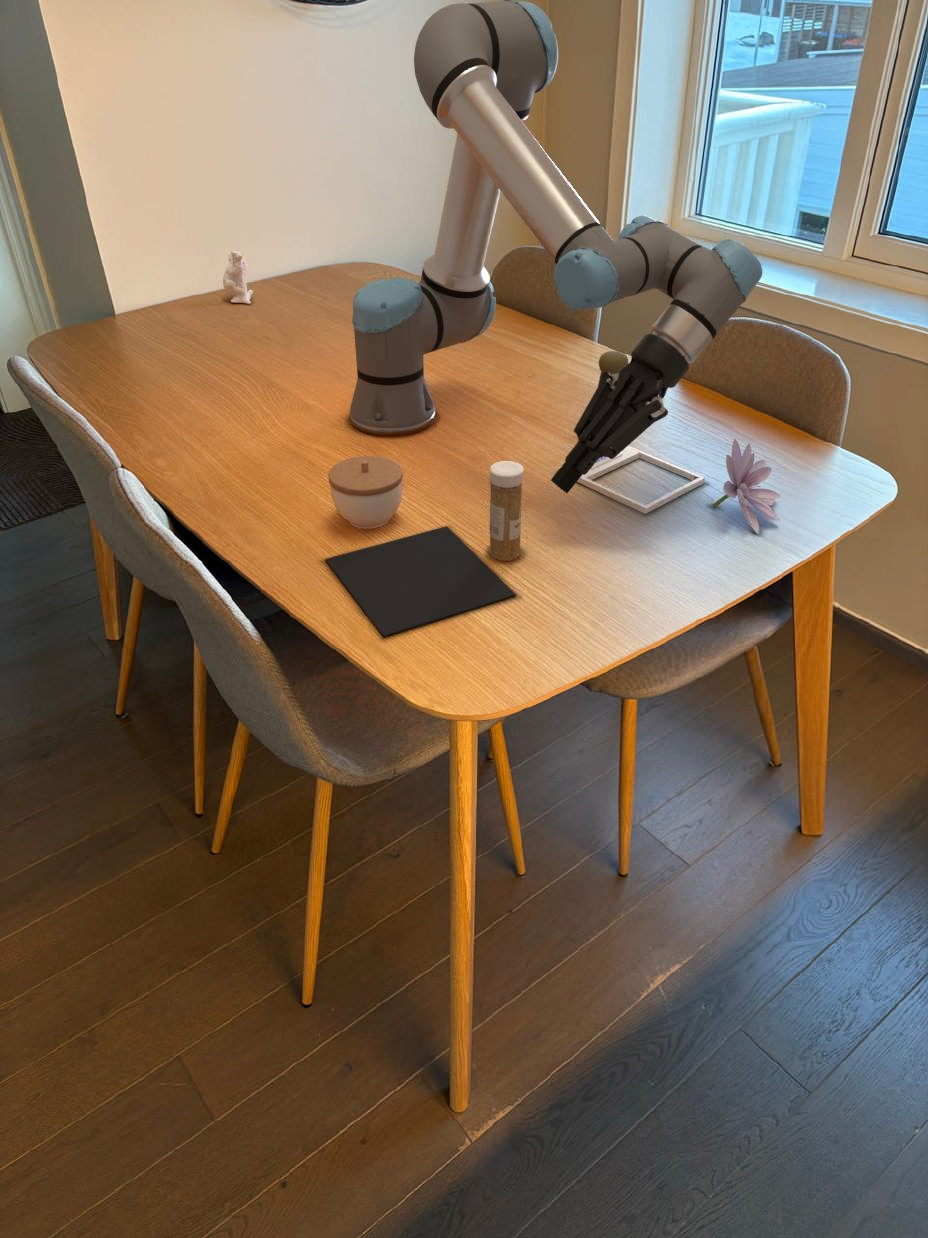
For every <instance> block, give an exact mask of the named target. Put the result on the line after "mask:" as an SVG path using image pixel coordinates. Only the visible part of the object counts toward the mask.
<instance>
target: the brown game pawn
mask: <svg viewBox="0 0 928 1238" xmlns="http://www.w3.org/2000/svg"><path fill="white" fill-rule="evenodd" d="M629 363H630V361H629V358H628V356H627V354H625V353H624V352H621V351H618V350H609V351H606V352H603V353H601V356H600V357H599V359H598V367H599V370H600V375H599V379H598V384H597V387H598V386H599V382H600V378H601V375H602V373H603V372H605V371H607V372H608V373H609V374H610V375H612V374H616V373H619V372H620V370H621V369H622V368H624V367H625V366H627V365H628V364H629Z"/></svg>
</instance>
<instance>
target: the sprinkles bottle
mask: <svg viewBox="0 0 928 1238" xmlns="http://www.w3.org/2000/svg"><path fill="white" fill-rule="evenodd" d="M524 477H525V469H524V467H523V465H522V464H520V463H518V462H516V461H511V460H501V461H498V462H495V463H493V464H492V465H490V467H489V479H488V480H489V484H490V493H489V494H490V496H489V497H490V499H489V548H488V554H489V555H490V557H491V558H493V559H495V560H497V561H502V562H503V561H504V562H507V561H508V562H509V561H513V560H516V559H518V557H520V555H521V553H522V551H521V533H522V508H523V507H522V505H523V504H522V490H523V483H524V479H525V478H524Z"/></svg>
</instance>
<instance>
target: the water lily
mask: <svg viewBox="0 0 928 1238" xmlns="http://www.w3.org/2000/svg"><path fill="white" fill-rule="evenodd" d="M725 456H726V457H725V465H726V471H727V475H728V477H729V480H726V481H725V482H724V484H723V486H722V490H723V492H724V494H725V495H723V496H721V497H720V498H719V499H717V500H716V501H715V502H714V503H712V507H713V508H714V509H715V508H717V507H718V506H719V505H720V504H722V503H723V502H724V501H726V500H727V499H728V498H732V499H736V498H737V500H738V503H739V508H740V510H741V512H742V515H743V516H744V518H745V520H746V522H747V523H748V525H749V526H750V527H751V529H752V530H753V531H754V532H755V534H757V535H758V534H759V533H760V525H759V521H758V518H757V515H756V514H755V511H754V510H752V507H753V508H754V509H755V510H757V511H758V512H760V513H761V514H762V515H764V516H766V517H768V518H770V519H772V520H774V521H777V522H780V518H779V516H778V515H777V513H776V512H775V511H773V510H772V508H771V506H773V505H774V504H775V503H776V499H780V498H781V497H782V495H780V493H778V492H776V491H774V490H772V489H769V488H760V487H762V485H760V484H761V483H764V482H765V481H766V480H767V479H768V478H769V476H770V475H771V474H772V468H771V467H770V466H767V463H766V460H764V459H760V460H757V461H756V462H754V461H755V452H752V447H751V444H750V443H748V444H747V445H746V446H745V449H744V450H743V452H742V450H741V446H740V444H739V442H738V440H737V439H736V438H733V441H732V447H731V455H730V454H726V455H725ZM755 487H756V488H755ZM751 506H752V507H751Z"/></svg>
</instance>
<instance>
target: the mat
mask: <svg viewBox="0 0 928 1238" xmlns="http://www.w3.org/2000/svg"><path fill="white" fill-rule="evenodd" d="M324 561H325V563H326V564H327V565H328V566H329V568H330V569H331V571H332V572H333V573H334V575H335V576H336V577H337V578H338V580H339V581H340V582H341V584H342V585H343V587H344V588H345V589H346V591H347V592H348V593H349V594H350V596H351V597H352V598H353V600H354V601H355V602H356V603H357V605H358V606H359V608H360V609H361V610H362V611H363V613H364V614H365V615H366V617H367V618H368V619H369V621H370V622H371V623H372V624H373V626H374V627H375V629H376V630H377V631H378V632H379V634H380V635H381V636H382V638H384V639H385V638H388V637H392V636H395V635H398V634H402V633H404V632H407V631H411V630H414V629H417V628H420V627H423V626H427V625H430V624H433V623H437V622H440V621H443V620H447V619H449V618H453V617H456V616H459V615H463V614H465V613H468V612H472V611H475V610H478V609H482V608H485V607H488V606H492V605H494V604H497V603H500V602H503V601H507V600H510V599H514V598H516V597H517V594H516V593H515V592H514V591H513V590H512V589H511V588H510V587H509V586H508V585H507V584H506V583H505V582H504V581H503V580H502V579H501V578H500V577H499V576H498V575H497V574H496V573H495V572H494V571H493V570H492V569H491V568H490V567H489V566H488V565H487V564H486V563H485V562H484V561H483V560H482V559H481V558H479V556H478V555H477V554H476V553H475V552H474V551H473V550H472V549H471V548H470V547H469V546H467V544H466V543H465V542H464V541H463V540H462V539H460V538H459V537H458V536H457V535H456V533H454V531H452V530H451V529H450V527H448V525H445V526H443V527H439V528H434V529H432V530H428V531H424V532H420V533H416V534H413V535H409V536H405V537H402V538H397V539H395V540H391V541H387V542H383V543H380V544H376V545H372V546H368V547H364V548H361V549H358V550H353V551H350V552H346V553H343V554H339V555H334V556H331V557H328V558H327V557H326V558H325V560H324Z"/></svg>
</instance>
